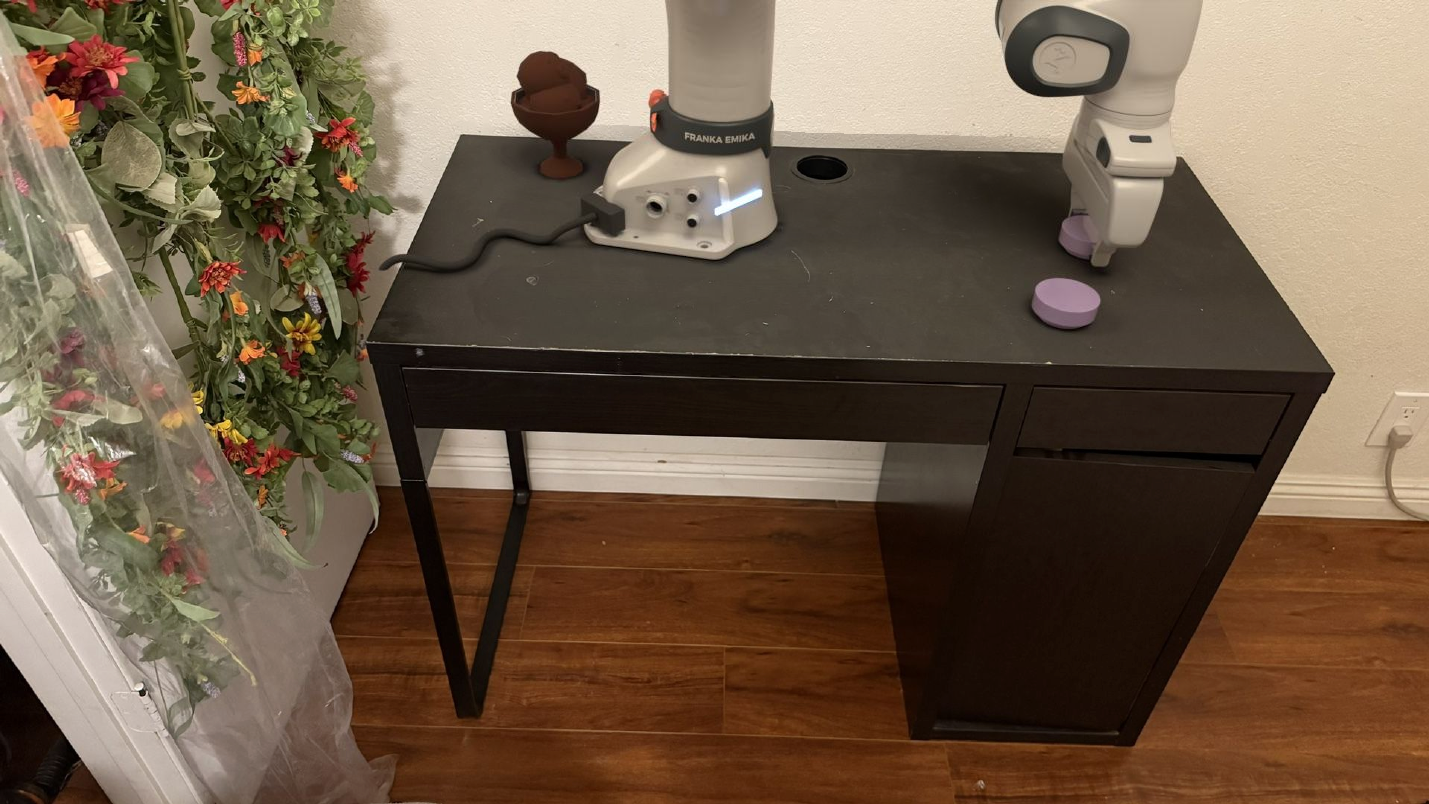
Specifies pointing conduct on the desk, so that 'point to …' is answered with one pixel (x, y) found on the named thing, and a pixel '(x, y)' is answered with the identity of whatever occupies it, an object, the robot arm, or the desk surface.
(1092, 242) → the dish top
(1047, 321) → the dish front
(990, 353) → the desk surface
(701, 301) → the desk surface
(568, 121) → the ice cream bowl
